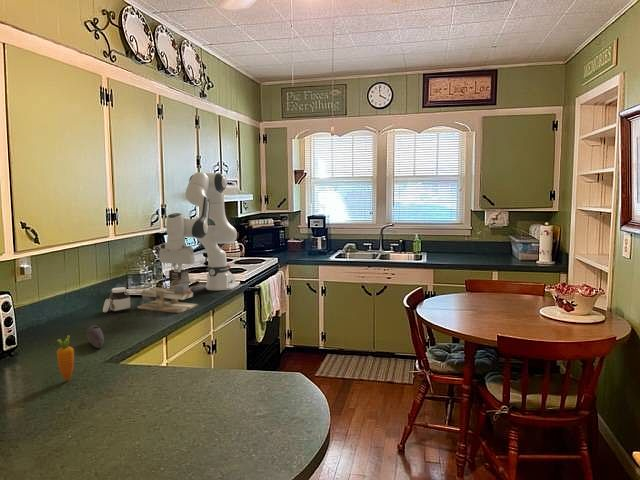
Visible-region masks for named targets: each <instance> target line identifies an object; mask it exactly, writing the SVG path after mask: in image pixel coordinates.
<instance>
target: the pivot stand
mask: <svg viewBox="0 0 640 480" xmlns="http://www.w3.org/2000/svg"><path fill="white" fill-rule="evenodd" d="M169 289H171V290H174V286H170V285H169ZM198 306H199V305H198V303H190V302H181V301H179V299H170V300H165V298H164V296H163V290H157V291H156V299H155V300H152V301H150V302H146V303H144V304H141V305H137V306H136V307H137V309H140V310H148V311H157V312H165V313H166V312H167V313H168V312H169V313H177V314H180V313H184V312H185V311H189V310H191V309H194V308H196V307H198Z"/></svg>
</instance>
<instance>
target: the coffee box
mask: <svg viewBox="0 0 640 480" xmlns="http://www.w3.org/2000/svg"><path fill="white" fill-rule="evenodd" d="M168 275H169V276H168V277H169V287H170V286H174V285H177V284H185V285H188V289H190V282H189V280H190V279H189V275H190V274H189V270H188V269H182V268H181V272H174V269H170V270H169V271H168ZM179 300H180V299H178V301H179ZM180 301H181V300H180Z"/></svg>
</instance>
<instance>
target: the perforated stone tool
mask: <svg viewBox="0 0 640 480" xmlns="http://www.w3.org/2000/svg"><path fill="white" fill-rule="evenodd" d="M86 336H87V340H88V342H89V343H90V344H91V346H93V347H94V348H96V349H101V348H102V347H103V346H104V344H105V338H104V337H105V336H104V333H103V331H102V330H101V328H100V326H98V325H96V324H92V325H90V326H88V327H87V331H86Z"/></svg>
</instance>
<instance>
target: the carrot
mask: <svg viewBox="0 0 640 480" xmlns="http://www.w3.org/2000/svg"><path fill="white" fill-rule="evenodd" d="M70 337H71V336H70V335H67V336H66V338H65V340H64V341H63V340H62V339H60V338H58V339H57V340H56V342H57V343H58V344H59V345H60V347H59V348H58V349H57V350H56V358H57V359H56V360H57V365H58V370H59V372H60V374H61V376H62V377H63V379H64V380H65V381H66V382H69V380H70V379H71V377H72V375H73V373H74V367H75V350H74V347H72V346H70V345H69V343H70ZM68 345H69V346H68Z"/></svg>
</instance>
